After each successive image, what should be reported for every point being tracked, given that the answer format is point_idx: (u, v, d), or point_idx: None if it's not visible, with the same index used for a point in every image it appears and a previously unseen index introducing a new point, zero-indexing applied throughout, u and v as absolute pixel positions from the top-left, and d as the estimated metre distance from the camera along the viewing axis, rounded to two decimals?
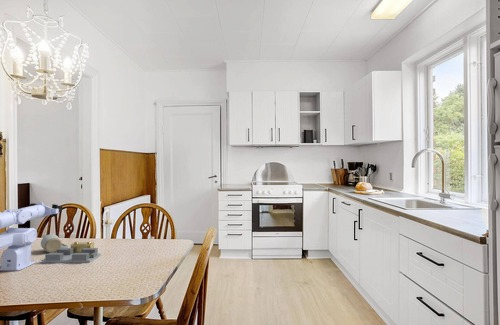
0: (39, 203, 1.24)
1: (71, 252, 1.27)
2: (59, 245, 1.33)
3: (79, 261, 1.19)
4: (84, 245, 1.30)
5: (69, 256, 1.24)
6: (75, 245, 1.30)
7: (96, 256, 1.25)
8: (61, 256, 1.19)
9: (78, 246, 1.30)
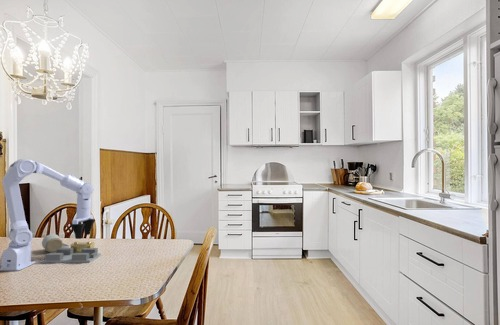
0: (90, 217, 1.32)
1: (71, 252, 1.27)
2: (60, 245, 1.34)
3: (79, 261, 1.19)
4: (84, 245, 1.30)
5: (69, 256, 1.24)
6: (75, 245, 1.30)
7: (96, 256, 1.25)
8: (61, 256, 1.19)
9: (78, 246, 1.30)
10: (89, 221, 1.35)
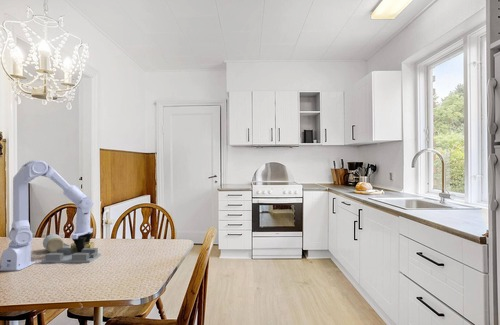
0: (90, 231, 1.32)
1: (71, 252, 1.27)
2: (61, 245, 1.34)
3: (79, 261, 1.19)
4: (84, 245, 1.30)
5: (69, 256, 1.24)
6: (75, 245, 1.30)
7: (96, 256, 1.25)
8: (61, 256, 1.19)
9: None
10: (87, 236, 1.33)
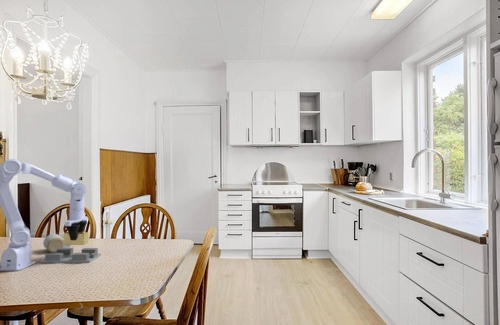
0: (84, 218, 1.27)
1: (71, 252, 1.27)
2: (62, 245, 1.34)
3: (79, 261, 1.19)
4: (78, 235, 1.24)
5: (69, 256, 1.24)
6: (68, 235, 1.24)
7: (96, 256, 1.25)
8: (61, 256, 1.19)
9: None
10: (80, 224, 1.28)
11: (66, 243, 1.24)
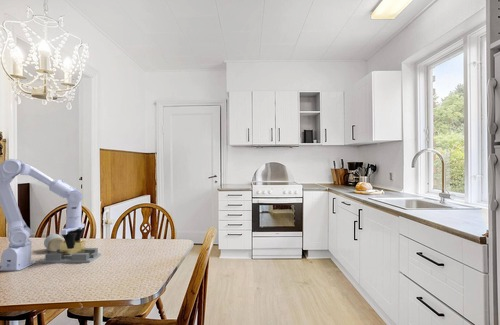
0: (81, 226, 1.24)
1: None
2: None
3: (79, 261, 1.19)
4: (74, 243, 1.22)
5: (69, 256, 1.24)
6: (65, 243, 1.22)
7: (96, 256, 1.25)
8: (61, 256, 1.19)
9: None
10: (78, 231, 1.26)
11: (63, 252, 1.21)
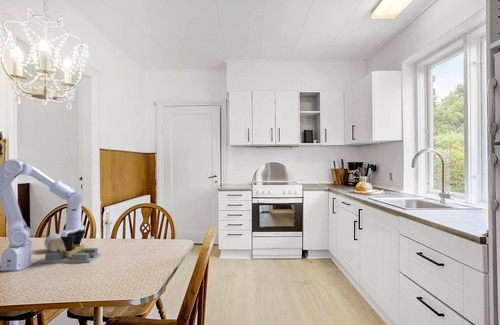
0: (81, 228, 1.24)
1: None
2: (63, 244, 1.34)
3: (79, 261, 1.19)
4: (74, 247, 1.22)
5: None
6: (64, 247, 1.22)
7: (96, 256, 1.25)
8: (61, 256, 1.19)
9: None
10: (79, 233, 1.26)
11: None
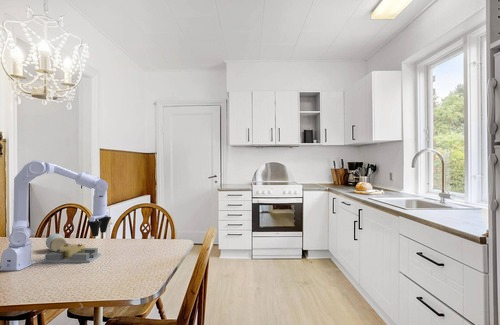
0: (107, 214, 1.30)
1: None
2: None
3: (79, 261, 1.19)
4: (74, 247, 1.22)
5: None
6: (64, 247, 1.22)
7: (96, 256, 1.25)
8: (61, 256, 1.19)
9: (68, 248, 1.22)
10: (105, 219, 1.33)
11: None
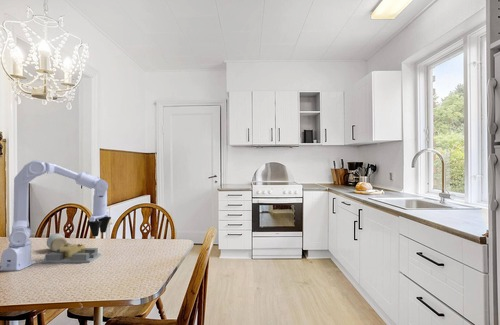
0: (107, 214, 1.30)
1: None
2: None
3: (79, 261, 1.19)
4: (74, 247, 1.22)
5: None
6: (64, 247, 1.22)
7: (96, 256, 1.25)
8: (61, 256, 1.19)
9: (68, 248, 1.22)
10: (105, 219, 1.33)
11: None
